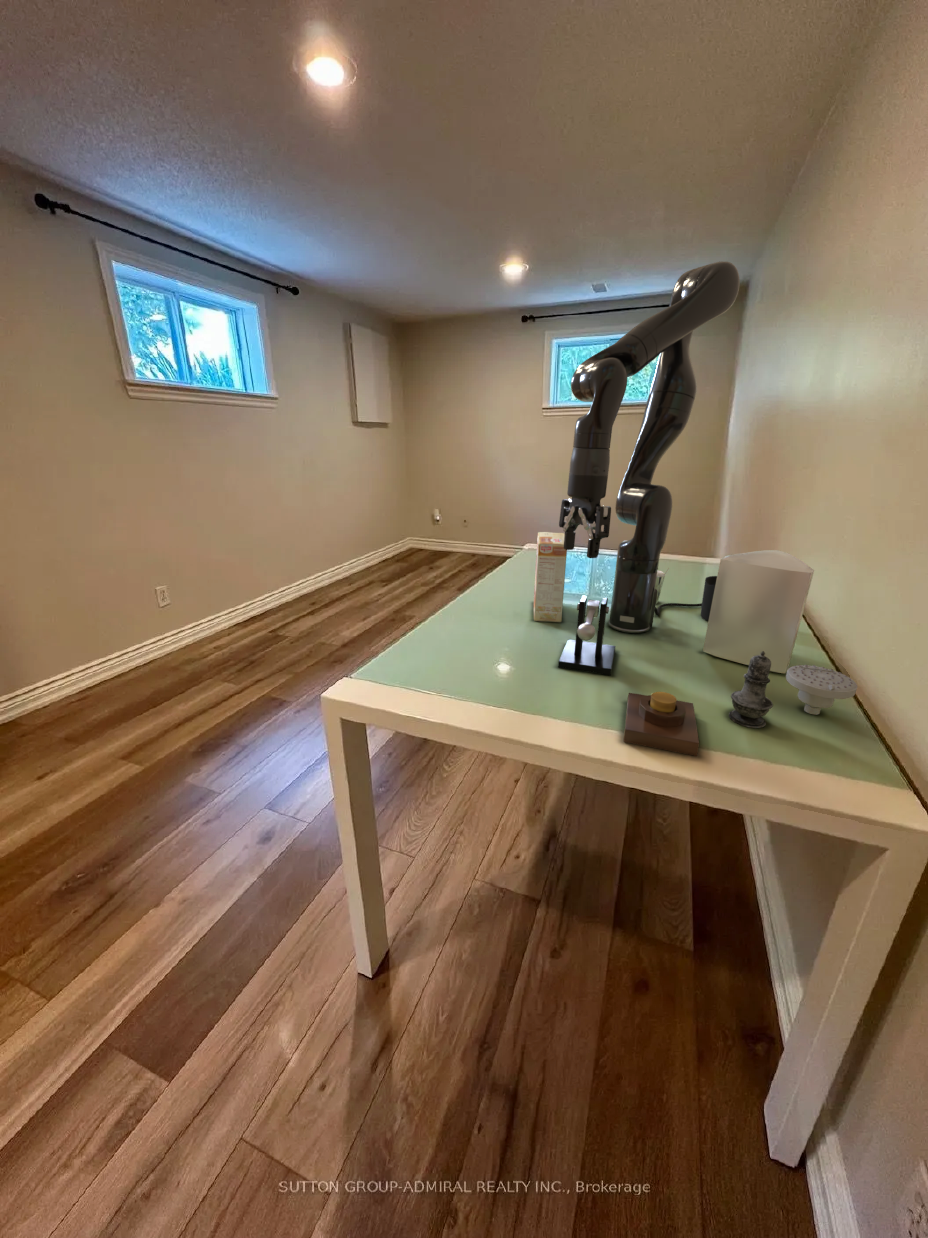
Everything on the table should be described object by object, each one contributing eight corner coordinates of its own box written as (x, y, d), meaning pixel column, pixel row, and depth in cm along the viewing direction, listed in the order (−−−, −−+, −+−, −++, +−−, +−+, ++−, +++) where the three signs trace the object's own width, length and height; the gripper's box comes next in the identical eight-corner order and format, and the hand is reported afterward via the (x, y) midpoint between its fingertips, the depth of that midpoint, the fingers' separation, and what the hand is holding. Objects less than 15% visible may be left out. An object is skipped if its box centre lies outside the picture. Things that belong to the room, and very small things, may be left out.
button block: (627, 703, 83) (630, 682, 82) (690, 714, 80) (695, 693, 79) (623, 741, 73) (626, 718, 71) (696, 756, 69) (701, 732, 68)
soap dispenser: (700, 654, 103) (720, 551, 95) (722, 636, 113) (741, 541, 105) (783, 677, 93) (813, 564, 86) (798, 655, 103) (826, 552, 96)
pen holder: (741, 617, 125) (749, 579, 121) (738, 628, 117) (746, 588, 114) (701, 610, 130) (708, 574, 126) (695, 620, 122) (702, 582, 119)
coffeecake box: (533, 602, 135) (537, 531, 128) (559, 603, 134) (565, 532, 127) (532, 621, 121) (537, 542, 114) (561, 622, 120) (568, 543, 113)
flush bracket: (610, 675, 93) (618, 612, 89) (558, 667, 96) (563, 605, 92) (614, 651, 104) (622, 594, 99) (567, 645, 107) (572, 588, 102)
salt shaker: (719, 710, 81) (733, 643, 77) (752, 709, 82) (768, 643, 78) (740, 730, 76) (757, 659, 72) (776, 728, 76) (795, 658, 72)
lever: (593, 644, 87) (595, 629, 85) (575, 642, 88) (576, 626, 86) (601, 613, 98) (602, 599, 96) (584, 611, 99) (586, 597, 97)
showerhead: (798, 681, 76) (782, 656, 85) (787, 722, 78) (772, 693, 87) (871, 691, 73) (846, 664, 82) (857, 733, 75) (835, 702, 84)
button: (649, 699, 77) (651, 689, 77) (674, 703, 76) (676, 694, 76) (649, 710, 74) (651, 700, 73) (675, 715, 73) (677, 705, 72)
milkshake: (665, 605, 133) (670, 569, 130) (644, 604, 134) (649, 568, 131) (662, 600, 138) (667, 565, 134) (642, 599, 139) (647, 564, 135)
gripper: (627, 475, 92) (616, 560, 97) (583, 470, 104) (575, 546, 110) (594, 474, 89) (584, 562, 95) (553, 470, 102) (546, 547, 107)
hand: (579, 553), depth 102 cm, fingers open, 8 cm apart
